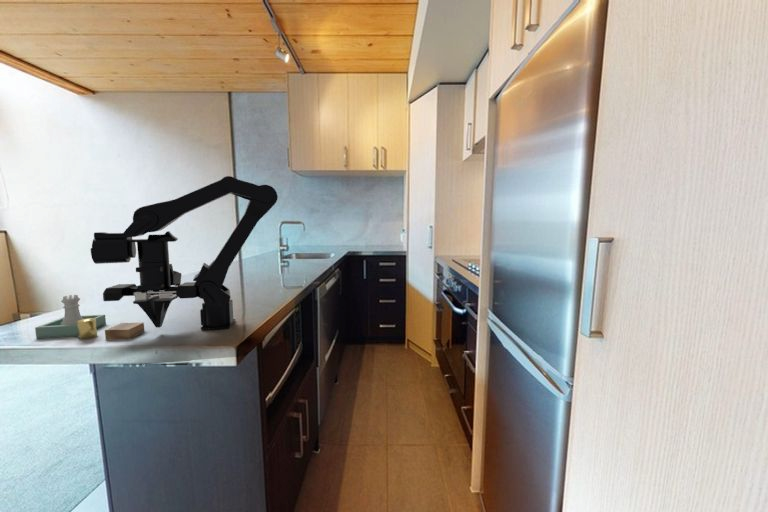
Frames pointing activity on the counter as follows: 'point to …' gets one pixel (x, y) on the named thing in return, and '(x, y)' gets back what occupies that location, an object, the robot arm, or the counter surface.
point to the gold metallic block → (87, 328)
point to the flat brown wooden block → (124, 331)
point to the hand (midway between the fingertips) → (158, 326)
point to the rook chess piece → (71, 310)
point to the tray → (65, 327)
